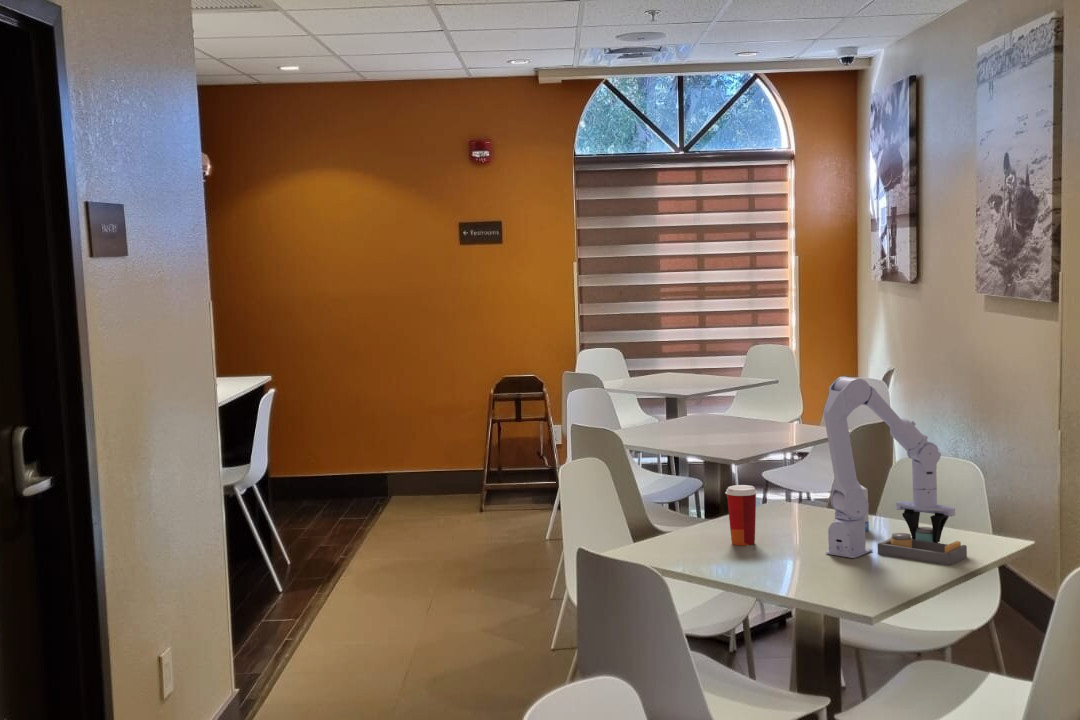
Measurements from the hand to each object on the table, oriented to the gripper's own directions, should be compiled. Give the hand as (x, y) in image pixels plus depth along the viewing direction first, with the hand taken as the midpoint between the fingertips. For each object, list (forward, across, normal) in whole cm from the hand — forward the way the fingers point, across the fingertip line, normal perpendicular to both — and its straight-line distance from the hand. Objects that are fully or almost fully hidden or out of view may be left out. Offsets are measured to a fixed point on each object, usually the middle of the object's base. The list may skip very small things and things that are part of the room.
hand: (926, 540), depth 257 cm
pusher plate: (+1, -11, +9) cm, 14 cm away
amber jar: (+2, +2, +9) cm, 9 cm away
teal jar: (+1, 0, 0) cm, 1 cm away
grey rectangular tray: (+1, -3, +9) cm, 10 cm away
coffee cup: (+2, +39, +24) cm, 46 cm away
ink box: (+2, +24, -8) cm, 25 cm away
